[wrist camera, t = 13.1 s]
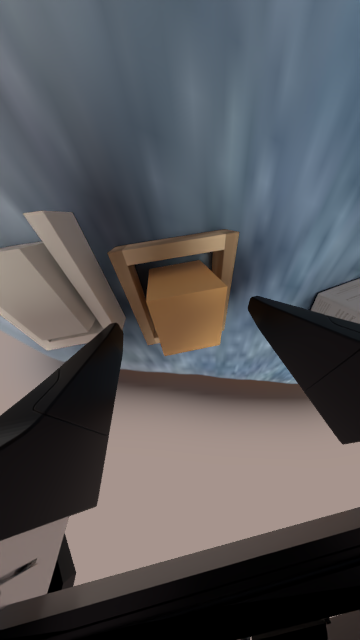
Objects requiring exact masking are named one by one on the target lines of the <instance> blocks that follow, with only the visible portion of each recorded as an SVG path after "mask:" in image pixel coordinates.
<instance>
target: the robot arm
mask: <svg viewBox="0 0 360 640" xmlns="http://www.w3.org/2000/svg"><path fill="white" fill-rule="evenodd" d="M248 311H249V313H250V314H251V316H252V318H253V320H254V322H255V323H256V325H257V327H258V328H259V330H260V331H261V333H262V334H263V335H264V337H265V338H266V340H267V341H268V342H269V344H270V345H271V347H272V348H273V349H274V351H275V352H276V353H277V355H278V356H279V358H280V359H281V360H282V362H283V363H284V365H285V366H286V367H287V369H288V370H289V372H290V373H291V374H292V376H293V377H294V378H295V380H296V381H297V383H298V384H299V385H300V387H301V388H302V390H303V391H304V392H305V394H306V395H307V397H308V398H309V399H310V401H311V402H312V403H313V405H314V406H315V408H316V409H317V411H318V412H319V413H320V415H321V416H322V417H323V419H324V420H325V422H326V423H327V424H328V426H329V427H330V428H331V430H332V431H333V433H334V434H335V436H336V437H337V438H338V440H339V441H340V442H341V443H342V444H349V443H355V442H360V324H359V323H355V322H351V321H347V320H343V319H340V318H336V317H332V316H329V315H325V314H321V313H318V312H314V311H310V310H307V309H303V308H300V307H296V306H292V305H289V304H285V303H281V302H278V301H274V300H271V299H267V298H263V297H260V296H255V297H251V298H250V301H249V305H248ZM122 353H123V331H122V329H121V328H120V326H119V324H118V323H111V324H109V325H108V326H107V327H106V328H104V329H103V330H102V331H101V332H100V333H99V334H98V335H96V336H95V337H94V338H93V339H92V340H91V341H90V342H88V343H87V344H86V345H85V346H84V347H83V348H81V349H80V350H79V351H78V352H77V353H76V354H75V355H73V356H72V357H71V358H70V359H69V360H68V361H66V362H65V363H64V364H63V365H62V366H61V367H60V368H58V369H57V370H56V371H55V372H54V373H53V374H51V375H50V376H49V377H48V378H47V379H46V380H44V381H43V382H42V383H41V384H40V385H38V386H37V387H36V388H35V389H33V390H32V391H31V392H30V393H28V394H27V395H26V396H25V397H23V398H22V399H21V400H20V401H18V402H17V403H16V404H15V405H13V406H12V407H11V408H9V409H8V410H7V411H6V412H4V413H3V414H2V415H1V416H0V640H250V637H251V636H252V640H360V507H358V508H355V509H351V510H348V511H344V512H341V513H337V514H333V515H330V516H326V517H322V518H319V519H315V520H312V521H308V522H304V523H301V524H297V525H294V526H290V527H286V528H283V529H279V530H276V531H272V532H268V533H265V534H261V535H258V536H254V537H250V538H247V539H243V540H240V541H236V542H233V543H229V544H225V545H222V546H218V547H214V548H211V549H207V550H204V551H200V552H196V553H193V554H189V555H186V556H182V557H178V558H175V559H171V560H168V561H164V562H160V563H157V564H153V565H150V566H146V567H142V568H139V569H135V570H132V571H128V572H125V573H121V574H117V575H114V576H110V577H106V578H103V579H99V580H95V581H92V582H88V583H85V584H81V585H78V586H74V587H73V584H74V580H75V575H76V571H75V567H74V564H73V560H72V557H71V553H70V550H69V547H68V543H67V540H66V536H65V529H66V525H67V522H68V518H69V516H71V515H74V514H77V513H80V512H82V511H85V510H88V509H91V508H93V507H96V506H97V501H98V496H99V491H100V484H101V479H102V473H103V467H104V461H105V455H106V450H107V443H108V438H109V431H110V425H111V420H112V414H113V408H114V401H115V396H116V390H117V384H118V377H119V372H120V367H121V361H122ZM340 614H341V615H340ZM336 615H338V616H336ZM332 616H335V617H332ZM329 617H332V618H329Z"/></svg>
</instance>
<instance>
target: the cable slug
mask: <svg viewBox="0 0 360 640" xmlns="http://www.w3.org/2000/svg"><path fill="white" fill-rule="evenodd" d="M0 307H1V308H2V309H3V310H5V311H6V312H7V313H8V314H10V315H11V316H12V317H13V318H15V319H16V320H17V321H18V322H20V323H21V324H22V325H23V326H25V327H26V328H27V329H28V330H30V331H31V332H32V333H33V334H35V335H36V336H37V337H38V338H40V339H41V340H42V341H43V340H49V339H54V338H60V337H65V336H70V335H76V334H81V333H86V332H89V330H90V329H91V327H92V325H93V323H94V322H95V320H96V317H95V316H94V314H93V313H92V311H91V310H90V308H89V307H88V306H87V304H86V303H85V301H84V300H83V299H82V297H81V296H80V294H79V293H78V291H77V290H76V289H75V287H74V286H73V284H72V283H71V282H70V280H69V279H68V277H67V276H66V274H65V273H64V272H63V270H62V269H61V267H60V266H59V264H58V263H57V262H56V260H55V259H54V257H53V256H52V255H51V253H50V252H49V250H48V249H47V247H46V246H45V245H44V243H43V242H42V241H41V242H35V243H28V244H21V245H15V246H10V247H5V248H0Z"/></svg>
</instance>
